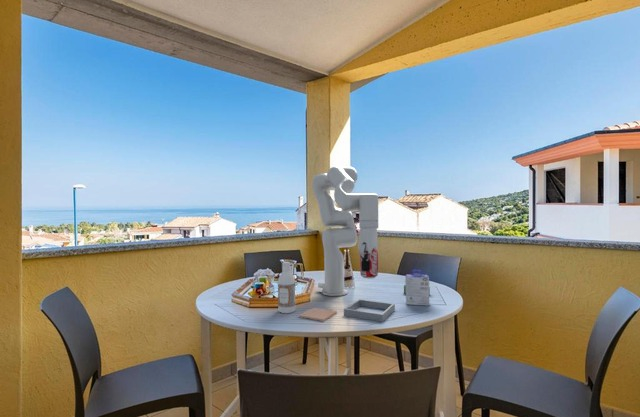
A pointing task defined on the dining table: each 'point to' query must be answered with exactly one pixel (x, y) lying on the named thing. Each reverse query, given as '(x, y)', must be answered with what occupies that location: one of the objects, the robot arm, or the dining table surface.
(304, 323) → the dining table surface
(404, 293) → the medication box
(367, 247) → the robot arm
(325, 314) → the terracotta tile
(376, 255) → the soda can
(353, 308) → the parts bin
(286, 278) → the bath foam
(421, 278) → the ink cartridge box
